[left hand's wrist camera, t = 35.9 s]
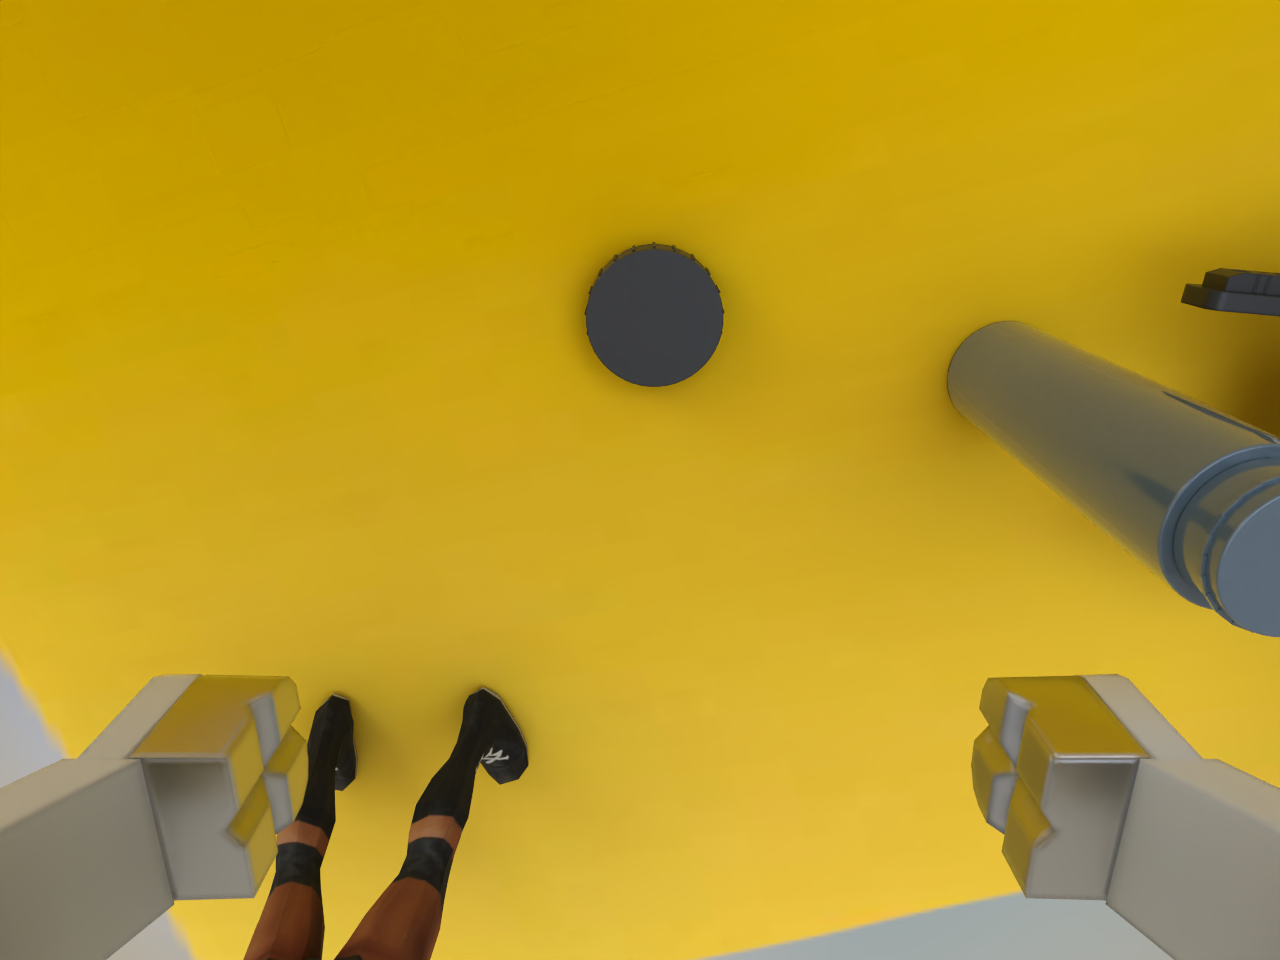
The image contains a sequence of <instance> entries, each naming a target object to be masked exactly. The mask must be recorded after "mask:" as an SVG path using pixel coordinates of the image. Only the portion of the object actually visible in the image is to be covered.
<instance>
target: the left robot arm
mask: <svg viewBox="0 0 1280 960" xmlns="http://www.w3.org/2000/svg"><path fill="white" fill-rule="evenodd" d="M300 709H301V707H300V702H299V697H298V692H297V687H296V684H295V683H294V682H293V681H292V679H291V678H290V677H289V676H244V675H205V676H203V675H201V674H181V675H161V676H157V677H153V678H152V679H151V680H150V681H149V682H148V683H147V685H146V686H145V687H144V688H143V689H142V690H141V691H140V692H139V693H138V694H137V695H136V696H135V697H134V698H133V700H132V701H131V702H130V703H129V704H128V705H127V706H126V707H125V708H124V709H123V710H122V711H121V712H120V713H119V714H118V716H117V717H116V718H115V719H114V720H113V721H112V722H111V723H110V724H109V725H108V726H107V727H106V728H105V729H104V730H103V732H102V733H101V734H100V735H99V736H98V737H97V738H96V739H95V740H94V741H93V742H92V743H91V744H90V745H89V746H88V748H87V749H86V750H85V751H84V752H83V753H82V754H81V755H80V756H79V757H78V758H77V759H62V760H60V761H57V762H55V763H53V764H51V765H49V766H47V767H45V768H43V769H40V770H38V771H36V772H34V773H32V774H30V775H28V776H26V777H24V778H21V779H19V780H17V781H15V782H13V783H11V784H9V785H7V786H4V787H2V788H0V960H106V959H108V958H109V957H110V956H111V955H112V954H114V953H115V952H116V951H117V950H119V949H120V948H121V947H122V946H123V945H125V944H126V943H127V942H128V941H130V940H131V939H132V938H133V937H135V936H136V935H137V934H138V933H140V932H141V931H142V930H143V929H144V928H146V927H147V926H148V925H149V924H151V923H152V922H153V921H154V920H156V919H157V918H158V917H159V916H160V915H162V914H163V913H164V912H165V911H167V910H168V909H169V908H170V907H172V906H173V905H174V901H173V900H201V899H236V898H254V897H255V895H256V893H257V891H258V889H259V887H260V885H261V884H262V882H263V880H264V878H265V876H266V874H267V872H268V870H269V868H270V866H271V864H272V863H273V861H274V859H275V857H276V855H277V853H278V848H277V842H276V836H275V835H276V834H277V833H279V832H280V831H282V830H283V829H285V828H286V827H287V826H289V825H290V824H292V823H293V822H294V820H295V818H296V816H297V814H298V812H299V810H300V808H301V806H302V803H303V799H304V794H305V790H306V786H307V781H308V753H307V745H306V740H305V739H304V738H303V737H302V736H301V735H300V734H299V733H298V732H297V731H296V730H295V729H294V728H293V727H292V726H291V724H292V722H293V720H294V719H295V717H296V715H297V714H298V712H299V710H300ZM979 709H980V710H981V712H982V714H983V715H984V717H985V719H986V720H987V722H988V724H989V726H988V727H987V728H986V729H985V730H984V731H983V732H982V733H981V734H980V735H979V736H978V737H977V738H976V739H975V740H974V746H973V755H972V763H971V767H972V778H973V789H974V792H975V795H976V799H977V802H978V806H979V808H980V810H981V812H982V814H983V816H984V818H985V820H986V822H987V823H988V824H990V825H991V826H993V827H994V828H995V829H997V830H998V831H1000V832H1001V833H1003V834H1004V835H1005V836H1004V842H1003V848H1002V853H1003V855H1004V857H1005V859H1006V861H1007V863H1008V864H1009V866H1010V868H1011V870H1012V872H1013V874H1014V876H1015V878H1016V880H1017V882H1018V883H1019V885H1020V887H1021V889H1022V891H1023V893H1024V895H1025V897H1026V898H1043V899H1078V900H1106V905H1108V906H1109V907H1110V908H1111V909H1113V910H1114V911H1115V912H1116V913H1117V914H1119V915H1120V916H1121V917H1122V918H1124V919H1125V920H1126V921H1127V922H1128V923H1130V924H1131V925H1132V926H1133V927H1135V928H1136V929H1137V930H1138V931H1140V932H1141V933H1142V934H1143V935H1145V936H1146V937H1147V938H1148V939H1149V940H1151V941H1152V942H1153V943H1154V944H1156V945H1157V946H1158V947H1159V948H1160V949H1162V950H1163V951H1164V952H1165V953H1167V954H1168V955H1169V956H1170V957H1172V958H1173V959H1174V960H1280V788H1277V787H1275V786H1273V785H1271V784H1269V783H1267V782H1265V781H1263V780H1261V779H1258V778H1256V777H1254V776H1252V775H1250V774H1248V773H1246V772H1244V771H1242V770H1239V769H1237V768H1235V767H1233V766H1231V765H1229V764H1227V763H1225V762H1223V761H1220V760H1218V759H1203V758H1202V757H1201V756H1200V755H1199V754H1198V753H1197V752H1196V751H1195V750H1194V749H1193V748H1192V746H1191V745H1190V744H1189V743H1188V742H1187V741H1186V740H1185V739H1184V738H1183V737H1182V736H1181V735H1180V734H1179V733H1178V731H1177V730H1176V729H1175V728H1174V727H1173V726H1172V725H1171V724H1170V723H1169V722H1168V721H1167V720H1166V719H1165V718H1164V717H1163V715H1162V714H1161V713H1160V712H1159V711H1158V710H1157V709H1156V708H1155V707H1154V706H1153V705H1152V704H1151V703H1150V702H1149V700H1148V699H1147V698H1146V697H1145V696H1144V695H1143V694H1142V693H1141V692H1140V691H1139V690H1138V689H1137V688H1136V687H1135V686H1134V684H1133V683H1132V682H1131V681H1130V680H1129V679H1128V678H1126V677H1123V676H1121V675H1118V674H1099V675H1074V676H1045V677H1003V678H988V679H987V681H986V683H985V685H984V688H983V690H982V695H981V701H980V707H979Z"/></svg>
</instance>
